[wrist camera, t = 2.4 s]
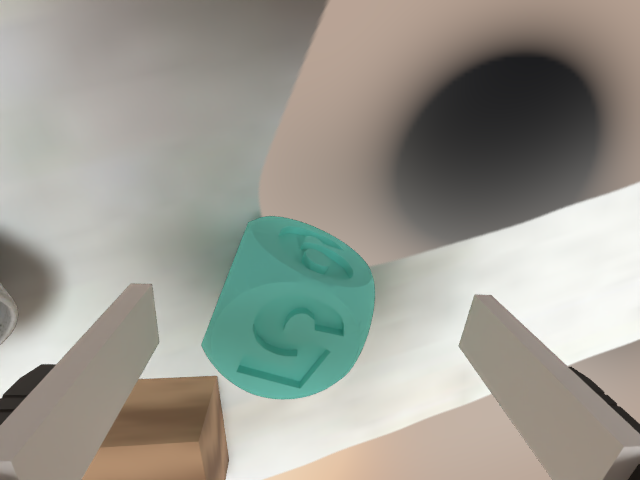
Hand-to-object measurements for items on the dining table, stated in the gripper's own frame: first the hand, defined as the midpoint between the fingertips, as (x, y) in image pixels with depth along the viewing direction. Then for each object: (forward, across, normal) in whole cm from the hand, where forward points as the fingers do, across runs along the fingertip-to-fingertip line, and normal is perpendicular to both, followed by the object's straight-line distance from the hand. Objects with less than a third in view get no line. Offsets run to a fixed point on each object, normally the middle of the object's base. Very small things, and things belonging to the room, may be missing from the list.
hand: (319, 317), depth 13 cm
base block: (+11, -12, -20) cm, 25 cm away
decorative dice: (+10, -1, -3) cm, 11 cm away
